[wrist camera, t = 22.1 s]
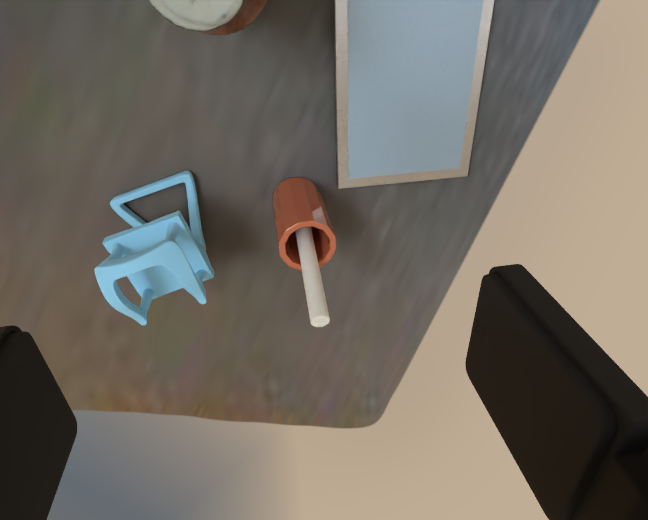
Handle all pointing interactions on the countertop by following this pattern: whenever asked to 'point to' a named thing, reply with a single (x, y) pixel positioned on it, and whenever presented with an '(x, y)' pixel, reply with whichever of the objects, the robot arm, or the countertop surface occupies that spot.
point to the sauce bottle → (210, 14)
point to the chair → (155, 252)
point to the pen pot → (302, 220)
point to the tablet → (407, 88)
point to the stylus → (312, 278)
